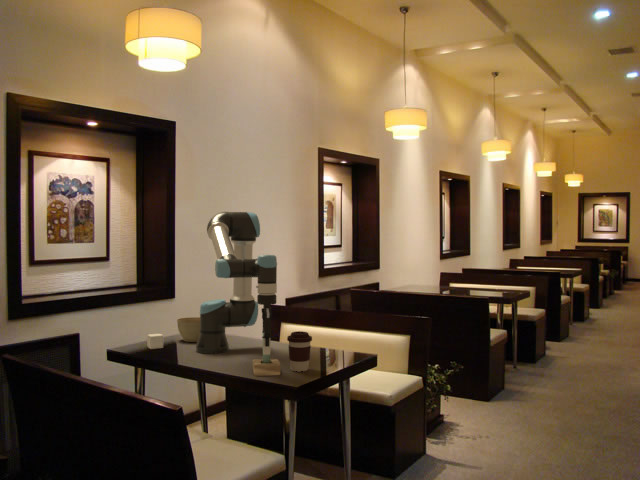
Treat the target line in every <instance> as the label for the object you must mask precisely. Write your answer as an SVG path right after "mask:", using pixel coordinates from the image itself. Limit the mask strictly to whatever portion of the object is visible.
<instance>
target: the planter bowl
mask: <svg viewBox="0 0 640 480" xmlns="http://www.w3.org/2000/svg"><path fill="white" fill-rule="evenodd" d="M176 322H177V329H178V332H179V334H180V336H181V338H182V339H183V341H184V342H188V343H189V342H190V343H194V342H196V343H197V342H198V339H199V336H200V316H197V317H196V316H195V317H194V316H193V317H189V316H188V317H181V318H180V317H179V318H177V319H176Z"/></svg>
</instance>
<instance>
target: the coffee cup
mask: <svg viewBox="0 0 640 480" xmlns="http://www.w3.org/2000/svg"><path fill="white" fill-rule="evenodd" d="M286 340H287V342H288V359H289V369H290V371H292V372H296V371H297V372H299V373H300V372H301V371H303V372H307V371H308V370H309V364H310V359H311V342H312V341H313V336H311V335H310V334H309V332H307V331H293V332H291V333H290V335H287V337H286Z"/></svg>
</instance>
